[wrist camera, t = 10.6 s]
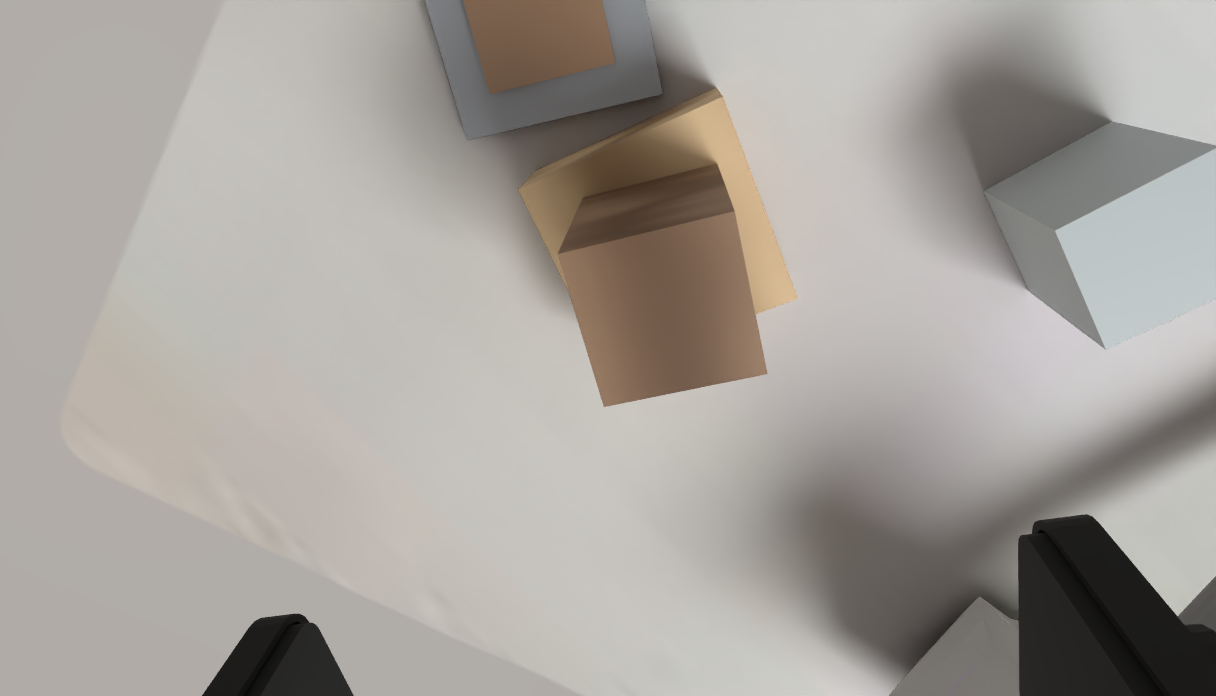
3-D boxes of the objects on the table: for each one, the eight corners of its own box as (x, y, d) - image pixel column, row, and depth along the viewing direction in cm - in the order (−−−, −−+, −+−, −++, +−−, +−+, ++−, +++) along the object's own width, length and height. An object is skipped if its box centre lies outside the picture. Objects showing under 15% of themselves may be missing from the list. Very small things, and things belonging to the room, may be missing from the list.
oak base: (716, 86, 28) (722, 96, 25) (783, 266, 31) (797, 298, 28) (536, 169, 30) (518, 190, 27) (614, 331, 33) (607, 370, 29)
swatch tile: (617, -144, 25) (615, -149, 24) (662, 92, 28) (662, 94, 28) (405, -82, 27) (396, -85, 26) (470, 138, 30) (464, 141, 29)
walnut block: (717, 163, 26) (734, 211, 19) (743, 292, 28) (767, 374, 21) (582, 197, 27) (557, 253, 20) (617, 320, 28) (603, 406, 22)
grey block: (1110, 121, 28) (1219, 146, 22) (1152, 229, 29) (1262, 278, 24) (982, 191, 29) (1054, 230, 24) (1028, 290, 31) (1105, 349, 25)
